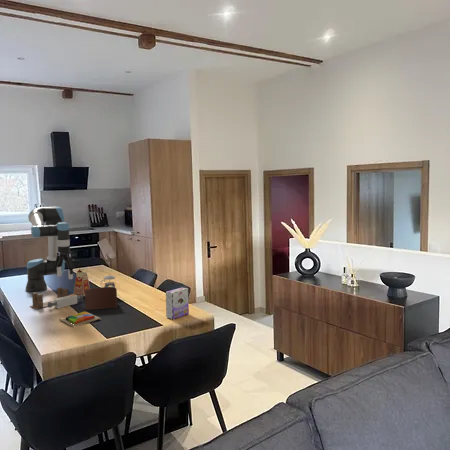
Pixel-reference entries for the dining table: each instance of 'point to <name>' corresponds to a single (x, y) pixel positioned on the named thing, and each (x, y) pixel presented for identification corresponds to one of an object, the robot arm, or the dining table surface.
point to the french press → (107, 284)
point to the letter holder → (100, 298)
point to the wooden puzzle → (80, 318)
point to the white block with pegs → (65, 301)
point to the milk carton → (81, 282)
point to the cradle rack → (39, 303)
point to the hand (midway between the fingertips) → (65, 277)
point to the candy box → (177, 303)
